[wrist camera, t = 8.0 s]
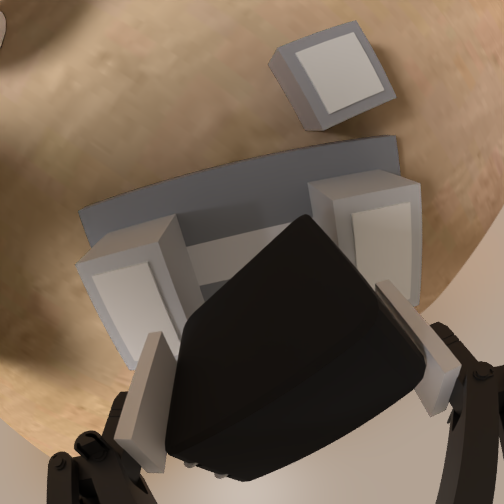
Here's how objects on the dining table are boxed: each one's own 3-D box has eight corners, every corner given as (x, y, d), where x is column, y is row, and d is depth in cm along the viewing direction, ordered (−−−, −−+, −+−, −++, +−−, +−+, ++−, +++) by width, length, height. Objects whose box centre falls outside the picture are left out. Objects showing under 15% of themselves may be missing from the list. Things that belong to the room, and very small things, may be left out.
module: (304, 130, 22) (324, 130, 17) (267, 64, 20) (277, 47, 15) (366, 101, 21) (398, 97, 16) (333, 38, 19) (357, 19, 14)
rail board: (141, 339, 28) (122, 395, 21) (85, 206, 23) (37, 237, 16) (397, 280, 27) (437, 324, 20) (387, 134, 22) (442, 141, 15)
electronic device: (347, 257, 18) (435, 373, 9) (231, 353, 20) (236, 487, 11) (303, 208, 16) (388, 313, 7) (183, 319, 19) (160, 459, 9)
